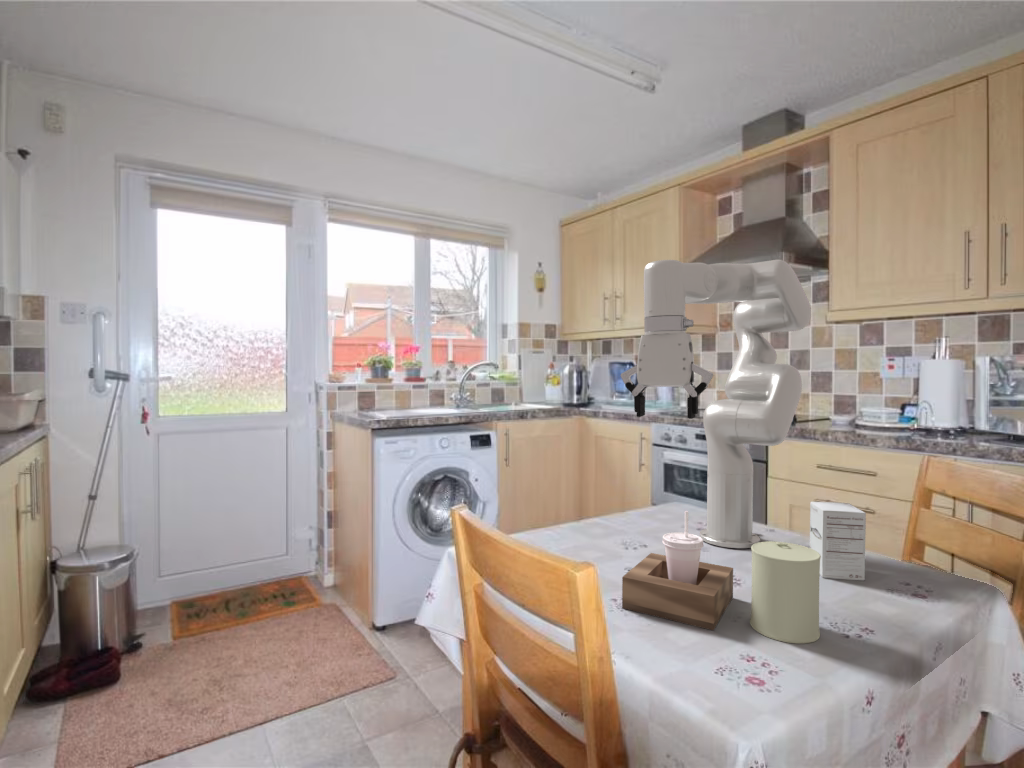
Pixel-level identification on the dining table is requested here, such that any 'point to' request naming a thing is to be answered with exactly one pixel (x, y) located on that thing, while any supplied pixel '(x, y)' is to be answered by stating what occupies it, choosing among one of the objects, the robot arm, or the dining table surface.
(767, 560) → the can
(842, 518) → the supplement box
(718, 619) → the socket block
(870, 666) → the dining table surface
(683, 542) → the smoothie
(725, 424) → the robot arm
